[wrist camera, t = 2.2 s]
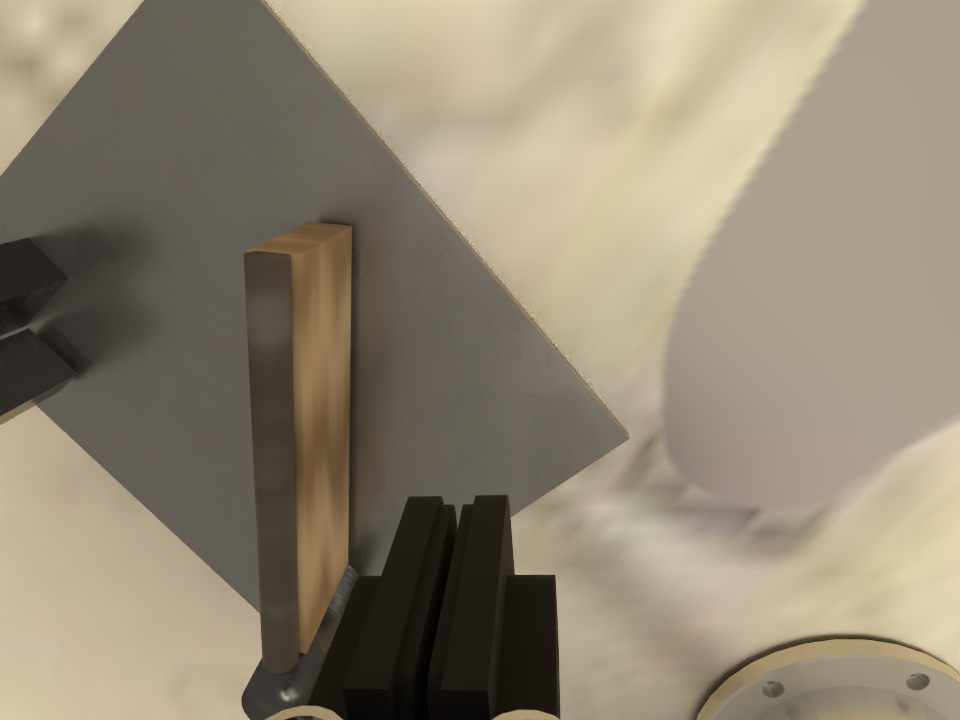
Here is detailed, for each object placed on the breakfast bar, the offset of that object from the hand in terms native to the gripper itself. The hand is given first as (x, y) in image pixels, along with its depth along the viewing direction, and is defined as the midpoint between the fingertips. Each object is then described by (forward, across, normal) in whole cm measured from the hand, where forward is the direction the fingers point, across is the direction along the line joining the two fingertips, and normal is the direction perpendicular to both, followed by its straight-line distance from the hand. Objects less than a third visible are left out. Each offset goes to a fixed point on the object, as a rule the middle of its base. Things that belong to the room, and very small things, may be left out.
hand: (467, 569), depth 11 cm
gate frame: (+14, +10, +1) cm, 17 cm away
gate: (+13, +7, +3) cm, 15 cm away
